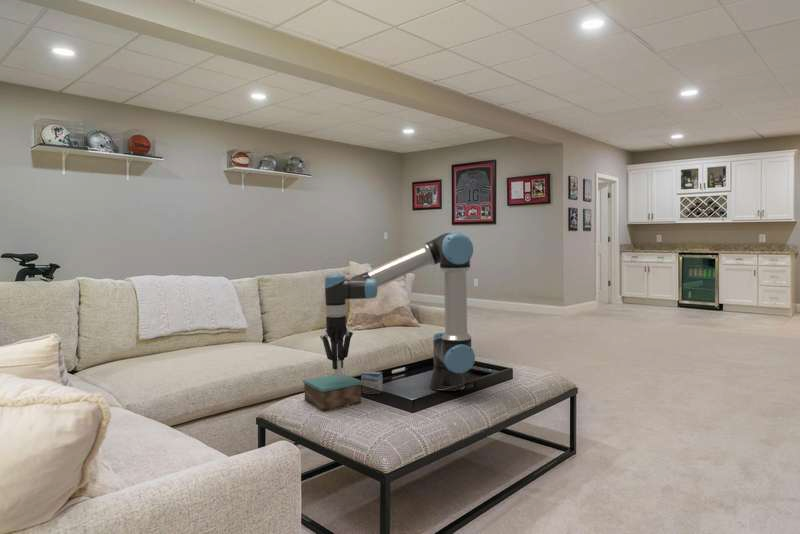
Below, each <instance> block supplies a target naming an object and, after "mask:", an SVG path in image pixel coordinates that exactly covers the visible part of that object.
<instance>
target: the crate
mask: <svg viewBox="0 0 800 534" xmlns="http://www.w3.org/2000/svg"><path fill="white" fill-rule="evenodd" d="M303 384H304V388H303V389H304V401H306V402H307V403H308V404H310V405H312V406H313V407H315V408H317V409H318V410H320V411H321V412H328V411H332V410H331V409H333V410H336V409H335V408H337V409H340V407H342V408H345V407H344V406H346V407H348V406H347V405H350V406H353V405H352V404H355V405H358V404H357V403H359V404H361V403H362V394H361V384H360V385H355V386H350V387H345V388H341V389H336V390H331V391H326V392H322V391H320V390H318V389H315V388H313V387H311V386H309V385H307V384H305V383H303Z"/></svg>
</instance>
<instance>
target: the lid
mask: <svg viewBox="0 0 800 534" xmlns="http://www.w3.org/2000/svg"><path fill="white" fill-rule="evenodd" d="M341 374H342V378H336V377H335V373H334V374H330V375H324V376H319V377H314V378H308V379H304V380H302V383H303V384H304V383H305V384H307V385H309V386H311V387H313V388H315V389H318V390H320V391H322V392H326V391H331V390H336V389H341V388H345V387H350V386H355V385H361V384H363V381H361V379H358V378H355V377H353V376H351V375H348V374H345V373H342V372H341Z"/></svg>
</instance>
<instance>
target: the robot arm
mask: <svg viewBox="0 0 800 534" xmlns="http://www.w3.org/2000/svg"><path fill="white" fill-rule="evenodd" d="M473 255H474V244H473V242H472V241H471V238H469V237H468V236H467V235H466V234H464V233H461V232H445V233H443V234H441V235H439V236H437V237H436V238H434V239H431V240H430V241H427V242H425V243H424V244H422V247H420V248H418V249H415V250H413V251H411V252H408V253H407V254H404V255H402V256H400V257H398V258H395V259H392V260H390V261H388V262H386V263H383V264H381V265H379V266H377V267H374V268H372V269H370V270H367V271H366V272H363V273H361V274H357V275H353V276H352V277H351V278H349V279H346V276H345V275H344V274H339V273H337V274H334V273H333V274H328V275H325V277H324V294H325V296H324V297H325V315H326V317H325V323H326V329H325V333H324V334H323V335H320V340H322V342H323V347H324V350H325V355H326V358H327V360H329V361H331V362H332V369H333V370H334V374H335V377H336V378H342V374H341V373H342V369H343V368H344V361H345V359H346V358H348V355H349V350H350V344H351V338H352V337H353V334H354V332H352V331H349V330H348V328H347V316H346V315H347V303H346V300H360V299H361V300H363V299H367V300H369V299H375V298H377V296H378V288H379V287H382V286H384V285H386V284H388V283H391V282H393V281H395V280H397V279H399V278H402V277H404V276H407V275H408V274H411V273H413V272H415V271H418V270H419V269H423V268H424V267H427V266H429V265H431V266H435V265H437V264H439V268H440V269H441V271H443V279H444V280H443V282H444V283H443V284H444V287H443V289H444V332H437V333H434V335H433V370H432V373H431V378H430V380H429V388H430V387H431V388H434V389H444V388H448V387H452V386H455V385H459V384H462V383H465V382H466V380H465V376H464V373H466V372H468V371H469V370H471V368H472V367H473V366H474V364H475V360H476V356H475V352H474V349H473V348H472V336H471V335H470V334H469V333H468V301H467V300H468V299H467V298H468V296H467V295H468V293H467V292H468V291H467V271H469V269H471V258H472V257H473ZM329 340H330V341H329ZM431 388H430V389H431Z"/></svg>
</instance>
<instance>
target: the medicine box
mask: <svg viewBox="0 0 800 534" xmlns="http://www.w3.org/2000/svg"><path fill="white" fill-rule="evenodd" d="M383 373H384V372H383V371H373V370H372V371H371V370H364V371H362V372H361V374H360V375H361V377H360V378H361V379H360V380H361V381H363V384H362V385H366V386H370V387H374V388H377V389H381V390H383V389H384V388H383V385H384V384H383V379H384V378H383ZM383 391H384V390H383Z"/></svg>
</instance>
